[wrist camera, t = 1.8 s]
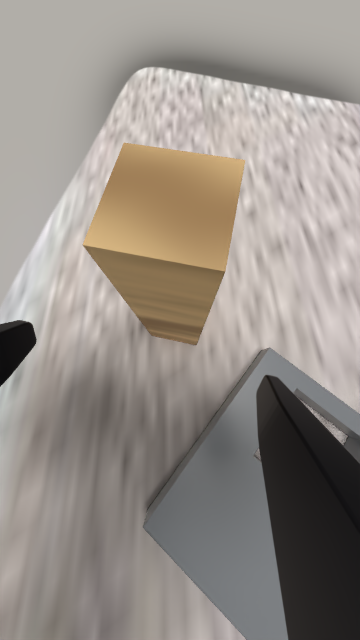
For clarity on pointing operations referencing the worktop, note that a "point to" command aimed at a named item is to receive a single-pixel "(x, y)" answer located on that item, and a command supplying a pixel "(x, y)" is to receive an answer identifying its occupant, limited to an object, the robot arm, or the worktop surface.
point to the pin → (167, 234)
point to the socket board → (237, 502)
